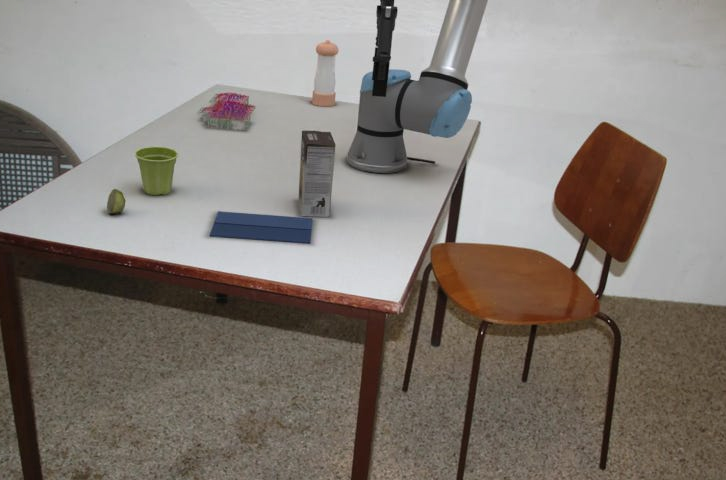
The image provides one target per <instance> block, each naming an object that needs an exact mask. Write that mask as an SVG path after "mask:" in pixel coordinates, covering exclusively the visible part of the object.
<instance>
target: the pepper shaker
mask: <svg viewBox="0 0 726 480" xmlns="http://www.w3.org/2000/svg"><path fill="white" fill-rule="evenodd" d="M315 52H316V54H317V63H316V71H315V76H314V83H313V86H314V87H313V91H312V97H311V103H312V104H313V105H314V106H319V107H333V106H335V105H336V90H335V89H336V67H335V66H336V56H337V55H338V53H339V52H340V51H339V47H338V45H337V44H335V43H333V42H331V40H328V39H326V40H325V41H324V42H320V43H318V44H317V45H316V47H315Z"/></svg>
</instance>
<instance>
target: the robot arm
mask: <svg viewBox="0 0 726 480" xmlns="http://www.w3.org/2000/svg"><path fill="white" fill-rule="evenodd" d="M488 1H489V0H449V1H448V4H447V8H446V11H445V13H444V18H443V21H442V23H441V27H440V31H439V34H438V38H437V41H436V43H435V47H434V51H433V54H432V57H431V59H430V64H429V66H428V67H427V68H425V69H423V70H421V72H420V74H419V78H418V80H416V79H411V78H412V75H411V72H410V71H408V70H407V69H394V68H393V69H392V68H391V69H390V64H391V59H392V56H391V54H392V46H393V45H392V43H393V33H394V31H395V29H396V21H397V17H398V6H395V0H379V2H380V5H379V4H378V5H376V11H375V12H376V13H375V14H376V37H375V47H374V56H372V62H373V63H372V65H373V66H372V71H369V72H367V73H365V74H364V75H363V77H362V79H361V84H360V90H359V104H358V115H357V126H356V133H355V135H354V138H353V140H352V142H351V145H350V147H349V149H348V151H347V155H346V163H347V164H348V165H349V166H350V167H352V168H353V169H354V168H355V169H356V170H360V171H363V172H367V173H374V174H392V173H398V172H402V171H404V170H406V169H407V166H408V161H412V162H413V161H414V162H420V163H425V164H426V163H427V164H431V165H435V164H436V161H434V160H431V159H430V160H429V159H423V158H417V157H410V156H408V155H407V150H406V145H405V139H404V130H406V131H411V132H416V133H420V134H425V135H429V136H431V137H434V138H436V137H437V138H445V139H449V138H452V137H455V136H456V135H458V133H459V132H460V131H461V130H462V128H463V127H464V124H465V123H466V122H467V119H468V117H469V114H470V111H471V108H472V106H471V105H472V102H473V96H472V92H470V91H469V89H468V88H469V85H470V84H469V82H468V80H467V78H466V74H467V69H468V66H469V63H470V60H471V56H472V54H473V50H474V47H475V44H476V40H477V37H478V35H479V32H480V27H481V24H482V22H483V18H484V14H485V11H486V8H487V5H488Z"/></svg>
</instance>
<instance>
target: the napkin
mask: <svg viewBox="0 0 726 480" xmlns="http://www.w3.org/2000/svg"><path fill="white" fill-rule="evenodd" d="M312 227H313V218H312V217H302V216H288V215H287V216H286V215H285V216H284V215H273V214H258V213H244V212H233V211H220V210H219V211H217V214H216V216H215V219H214V222H213V226H212V228H211V230H210V233H209V237H213V238H227V239H228V238H229V239H242V240H257V241H268V242H270V241H271V242H282V243H294V244H295V243H296V244H311V237H312V229H313V228H312Z"/></svg>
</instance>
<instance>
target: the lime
mask: <svg viewBox="0 0 726 480" xmlns="http://www.w3.org/2000/svg"><path fill="white" fill-rule="evenodd" d="M125 207H126V198H125V195H124V193H123V192H122V191H121V190H119V189H117V188H113V189H112V190H111V192H110V193H109V194H108V198H107V203H106V211H107V213H108V214H111V215H113V214H115V215H116V214H119V213H120V212H122V211H124V209H125Z"/></svg>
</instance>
